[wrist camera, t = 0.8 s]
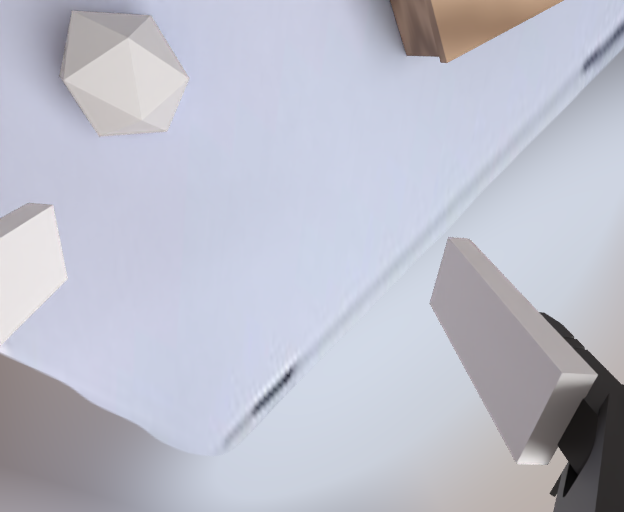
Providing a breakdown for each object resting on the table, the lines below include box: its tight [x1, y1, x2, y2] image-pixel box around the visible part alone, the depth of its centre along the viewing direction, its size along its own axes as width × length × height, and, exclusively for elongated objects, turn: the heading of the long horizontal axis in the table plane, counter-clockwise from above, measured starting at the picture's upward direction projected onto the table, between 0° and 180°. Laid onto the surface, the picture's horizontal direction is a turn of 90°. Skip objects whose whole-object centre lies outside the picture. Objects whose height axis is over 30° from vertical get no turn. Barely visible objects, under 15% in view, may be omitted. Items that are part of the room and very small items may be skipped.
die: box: [59, 11, 189, 137], centre depth 30 cm, size 8×9×10 cm
